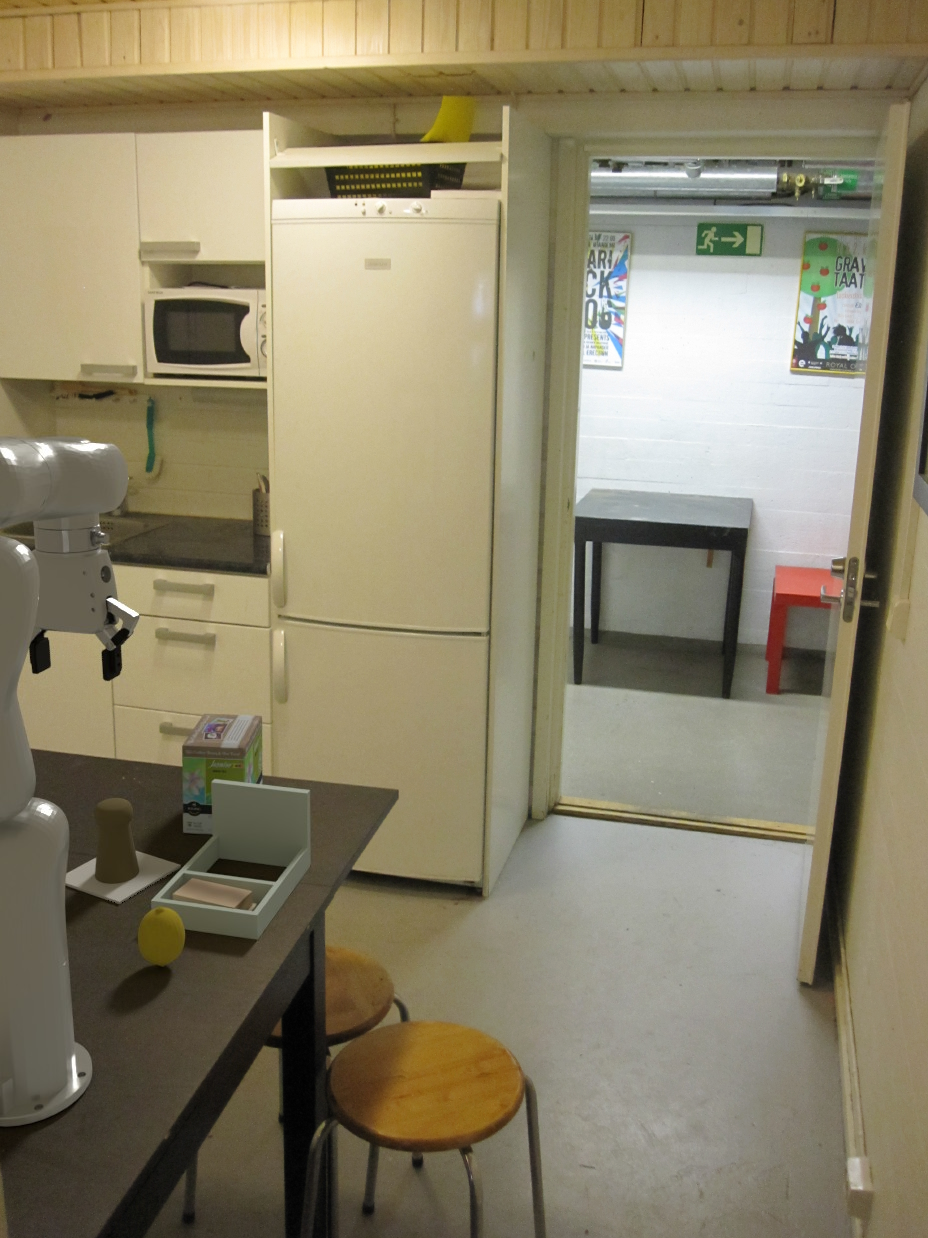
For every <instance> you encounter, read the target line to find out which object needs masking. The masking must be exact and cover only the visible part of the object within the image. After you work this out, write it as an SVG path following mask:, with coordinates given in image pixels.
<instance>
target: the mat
mask: <svg viewBox="0 0 928 1238" xmlns="http://www.w3.org/2000/svg"><path fill="white" fill-rule="evenodd" d="M135 851H136V856H137V861H138V866H139V874H138V875H137V876H136V877H135V878H133V879H131V880H129V881H126V882H123V883H118V884H107V883H102V882H99V881H98V880H96V878H95V867H96V857H94V858H93V859H91V860H89V861H87V862H85V863H83V864H81V865H79V866H78V867H76V868H74V869H72V870H71V871H69V872H66V882H65V887H66V886H67V887H69V888H72V889H75V890H77V891H80V892H82V893H83V892H84V893H86V894H89V895H92V896H95V897H98V898H100V899H103V900H106V901H108V900H109V902H111V901H112V902H111V903H114V902H115V903H114V904H117V905H121V904H123V903H125V902H126V901H128V900H130V899H131V898H133V897H134V895H135V896H136V895H137V893H138V892H139V893H141V892H143V891H145V890H146V889H148V888H149V887H151V886H152V884H153V885H155V884H156V883H157V881H158V882H160V879H161V880H162V878H163V879H164V878H166V877H167V875H168V876H169V875H171V874H173V873H174V872H176V871H178V870H180V869H182V866H181V865H182V864H179V863H176V862H173V861H169V860H166V859H163V858H159V857H157V856H154V855H151V854H148V853H144V852H142V851H139V850H135ZM172 872H173V873H172ZM155 882H156V883H155ZM150 885H151V886H150ZM148 886H149V887H148ZM147 887H148V888H147ZM145 888H146V889H145ZM142 890H143V891H142ZM140 891H141V892H140ZM139 893H138V894H139ZM130 897H131V898H130ZM129 898H130V899H129ZM124 901H125V902H124ZM122 902H123V903H122Z"/></svg>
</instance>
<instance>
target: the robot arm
mask: <svg viewBox="0 0 928 1238" xmlns="http://www.w3.org/2000/svg"><path fill="white" fill-rule="evenodd" d="M128 486H129V470H128V465H127V461H126V459H125V456H124V454H123V453H122V451H121V450H120V449H119V447H117V446H116V445H115V444H114V443H111V442H94V441H90V439H88V438H84V437H81V436H70V435H69V436H67V435H61V436H60V435H59V436H58V435H57V436H53V435H52V436H44V437H38V438H37V437H26V436H24V437H23V436H0V530H1V529H4V528H8V527H12V526H14V525H17V524H19V525H20V524H23V523H26V522H32V523H33V534H34V535H33V536H34V548H35V549H33V550H31V549H30V548H29V547H28V546H27V545H25V544H24V543H22V542H20V541H18V539H14V538H11V537H8V536H4V535H0V1127H15V1126H16V1127H17V1126H18V1127H19V1126H23V1125H28V1124H29V1125H30V1124H33V1123H36V1122H39V1121H42V1120H45V1119H47V1118H50V1117H51V1116H54V1115H56V1114H58V1113H60V1112H61V1111H63V1110H65V1109H67V1108H68V1107H69V1106H71V1105H72V1104H73V1103H74V1102H76V1101H77V1100H78V1099H79V1098H80V1097H81V1096H82V1095H83V1094H84V1093H85V1092H86V1091H87V1088H88V1086H89V1085H90V1083H91V1080H92V1077H93V1063H92V1062H93V1061H92V1057H91V1055H90V1053H89V1051H88V1050H87V1049H86V1048H85V1047H84V1046H83V1045H81V1044H80V1043H78V1042H76V1041H75V1031H74V1018H73V1005H72V1004H73V1003H72V990H71V988H72V987H71V975H70V963H69V961H70V960H69V950H68V949H69V948H68V938H67V936H68V935H67V923H66V922H67V920H66V885H65V882H66V873H67V870H68V869H67V868H68V860H69V850H70V849H69V848H70V826H69V821H68V818H67V816H66V814H65V813H64V811H63V809H62V808H60V806H58V805H56V804H55V803H53V802H52V801H49V800H47V799H43V798H40V797H34V794H35V790H36V789H35V788H36V784H37V783H36V781H37V780H36V770H35V764H34V759H33V754H32V750H31V745H30V742H29V738H28V734H27V730H26V725H25V723H24V719H23V714H22V711H21V706H20V703H19V700H18V699H19V698H18V686H19V680H20V678H21V674H22V671H23V667H24V665H25V661H26V658H27V655H28V653H29V664H30V666H31V673H32V675H33V674H34V675H38V674H41V673H43V672H45V671H46V670H48V669H50V668H51V666H52V662H51V648H50V639H49V637H47V636H46V637H45V635H46V634H47V632H48V631H50V632H59V633H60V632H62V633H70V634H72V633H73V634H83V635H84V634H85V635H86V634H87V635H95V637H96V638H97V639H98V640H99V642H101V644H102V645H103V646H104V647H105V648H104V649H102V650H101V668H102V679H103V681H105V682H110V681H112V680H113V679H116V678H117V677H119V676H120V675H121V672H122V670H123V658H122V656H123V655H122V646H123V645H124V644H125V643H126V642H127V641H128V639H130V637H132V635H133V634H134V632H135V631H134V630H135V628H136V627H137V625H138V623H139V621H140V618H141V617H140V614H139V613H138V612H136V611H135V610H133V609H131V608H130V607H128V606H126V605H125V604H124V603H121V602H120V601H119V595H118V588H117V584H116V578H115V573H114V568H113V565H112V561H111V558H110V557H111V556H110V554H109V552H108V549H102V547H103V545H108V544H109V542H110V539H111V538H110V535H109V533H108V532H106V533H105V532H102V526H101V525H100V514H104V513H109V512H112V511H115V510H117V509H118V508H119V507H120V506H121V505H122V503H123V501H124V499H125V497H126V494H127V491H128ZM120 620H121V621H122V624H121V628H120V629H118V628H117V626H116V625H118V624H119V622H120Z"/></svg>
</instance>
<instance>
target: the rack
mask: <svg viewBox="0 0 928 1238" xmlns="http://www.w3.org/2000/svg"><path fill="white" fill-rule="evenodd" d="M211 793H212V823H213V834H212V836H211V837H210V838H209V839H208V840H207V842H205V844H204V845H202V847H201V848H199V850H198V851H197V852H196V853H195V854H194V855H193V856H192V857H191V858H190V860H188V861H187V862H186V863H185V864H184V866H183V867H181V868H180V869H179V871H177V873H176V874H175V875H174V876H173V877H172V878H171V879H170V880H169V881H168V882H167V883H166V884H165V885H164V887H163V888H162V889H160V891H159V892H158V893H156V895H155V896H154V897H152V899H151V900H150V906H151V910H153V909H155V908H158V907H166V908H170V909H172V910H174V911H175V912H176V913H177V914H178V915H179V916H180V918H181V920H182V922H183V925H184V929H185V931H186V930H187V931H188V930H189V931H193V932H195V931H196V932H201V933H209V934H215V935H222V936H231V937H237V938H242V939H243V938H244V939H250V940H259V938H260V937H261V936H262V934H263V933H264V932H265V930H266V929H267V928H268V926H269V925H270V923H271V922H272V920H273V919H274V918H275V917H276V915H277V914H278V912H279V910H280V909H281V908H282V907H283V905H284V903H285V902H286V901H287V900H288V898H289V897H290V895H291V894H292V892H293V891H294V890H295V888H296V887H297V885H299V883H300V882H301V880H302V878H304V876H305V875H306V873H307V872H308V871H309V870H310V867H311V865H312V864H311V863H312V862H311V790H310V789H305V788H295V787H288V786H287V787H286V786H279V785H277V786H276V785H271V784H270V785H269V784H263V783H262V784H253V783H245V782H236V781H227V780H219V779H214V780H213V781H212V782H211ZM219 859H220V860H221V859H222V860H229V861H230V860H231V861H238V862H245V863H254V864H260V865H261V864H262V865H267V866H268V865H269V866H276V867H285V869H284V870H283V872H282V873H281V874H280V876H279V877H278V879H277V880H276V881H271V880H263V879H255V878H248V877H239V876H232V875H224V874H217V873H211V872H210V873H209V872H208V871H209V870H210V869H211V867H213V866H214V864H215V863H216V861H218V860H219ZM192 878H194V879H199V880H203V881H208V882H213V883H217V884H222V885H226V886H231V887H236V888H240V889H245V890H249V891H252V900H253V903H256V904H257V908H256V909H255V910H254V911H247V910H240V909H233V908H226V907H219V906H211V905H204V904H197V903H190V902H183V901H175V900H173V893H175V892H176V891H177V890H178V889H179V888H181V887H182V886H183V885H184V884H186V883H187V882H188V881H189V880H190V879H192ZM151 910H150V911H151Z"/></svg>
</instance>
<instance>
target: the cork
mask: <svg viewBox="0 0 928 1238" xmlns="http://www.w3.org/2000/svg"><path fill="white" fill-rule="evenodd" d="M133 817H134V809H133V806H132V804H131V802H130V801H129V800H127V799H125V798H121V797H111V798H107V799H103V800H102V801H100V802H98V803H97V804H96V806H95V808H94V812H93V818H94V821H95V823H96V825H97V826H98V832H97V844H96V845H97V846H96V857H95V858H96V867H95V878H96V880H98V881H99V882H102V883H107V884H118V883H123V882H126V881H129V880H131V879H133V878H135V877H136V876H137V875H138V874H139V866H138V861H137V856H136V851H137V850H136V848H135V843H134V838H133V833H132V828H131V827H132V826H131V822H132V820H133Z"/></svg>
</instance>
